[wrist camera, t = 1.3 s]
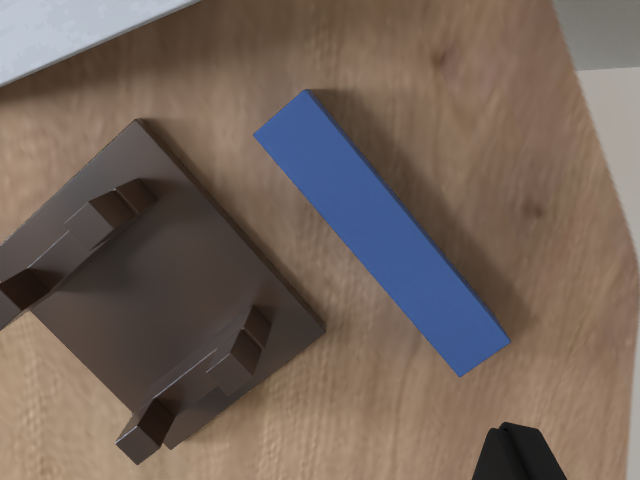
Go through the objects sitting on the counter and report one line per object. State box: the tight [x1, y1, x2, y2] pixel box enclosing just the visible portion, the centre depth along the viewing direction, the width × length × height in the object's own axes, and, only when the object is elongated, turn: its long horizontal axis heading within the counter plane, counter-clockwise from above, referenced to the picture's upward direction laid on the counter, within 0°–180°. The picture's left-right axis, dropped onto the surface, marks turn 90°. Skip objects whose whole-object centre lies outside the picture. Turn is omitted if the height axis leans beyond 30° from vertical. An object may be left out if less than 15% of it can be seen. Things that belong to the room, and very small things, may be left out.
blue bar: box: [253, 89, 511, 377], centre depth 29 cm, size 3×16×3 cm, turn 40°
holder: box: [0, 118, 326, 465], centre depth 29 cm, size 12×15×7 cm
